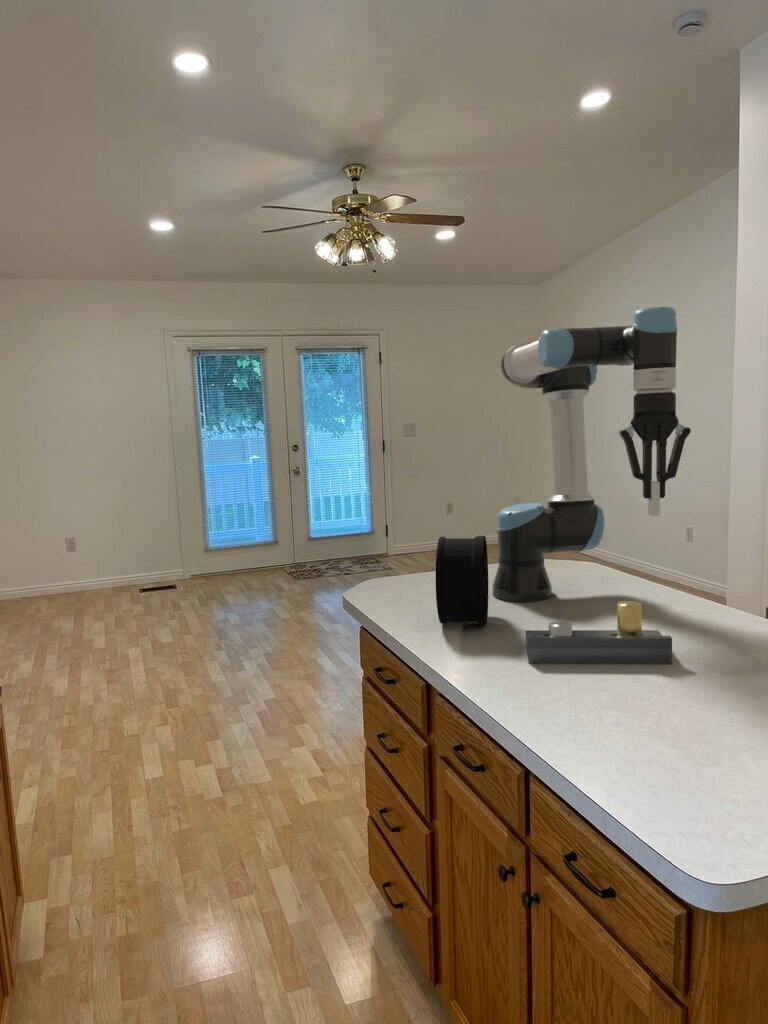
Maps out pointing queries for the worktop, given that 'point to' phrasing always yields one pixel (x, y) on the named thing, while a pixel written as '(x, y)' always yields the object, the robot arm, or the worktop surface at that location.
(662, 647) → the jig
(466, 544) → the car wheel rim
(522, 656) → the worktop surface
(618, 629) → the gold metal cylinder
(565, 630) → the silver metal cylinder
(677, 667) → the worktop surface
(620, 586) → the worktop surface
